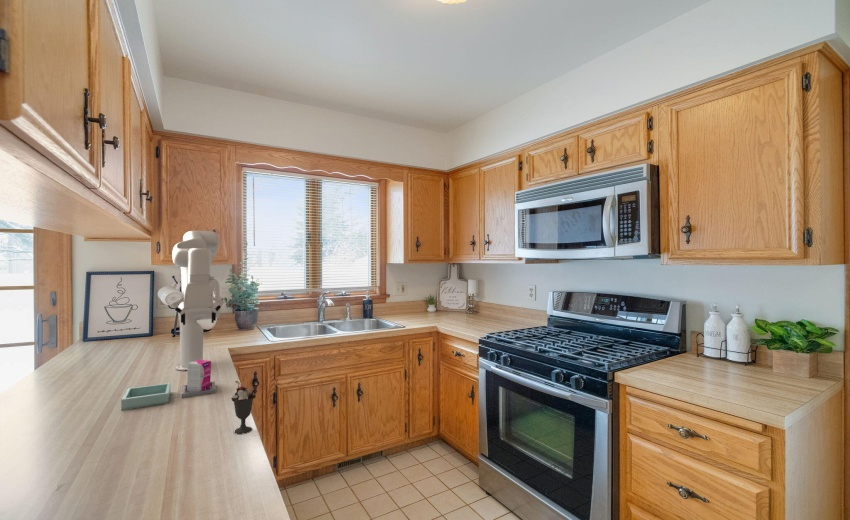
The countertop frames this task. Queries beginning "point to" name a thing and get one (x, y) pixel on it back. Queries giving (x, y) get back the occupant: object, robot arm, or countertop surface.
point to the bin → (146, 396)
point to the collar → (196, 393)
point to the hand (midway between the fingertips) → (198, 323)
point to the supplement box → (199, 375)
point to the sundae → (243, 406)
